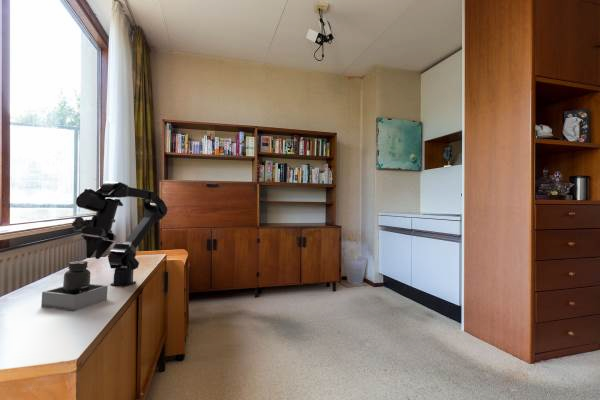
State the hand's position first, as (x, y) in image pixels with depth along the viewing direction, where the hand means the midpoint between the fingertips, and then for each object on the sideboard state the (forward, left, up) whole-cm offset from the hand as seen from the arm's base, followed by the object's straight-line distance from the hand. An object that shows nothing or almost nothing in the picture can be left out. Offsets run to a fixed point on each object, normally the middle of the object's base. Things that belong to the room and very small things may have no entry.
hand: (92, 258), depth 104 cm
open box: (+9, +4, -12) cm, 16 cm away
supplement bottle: (+9, +4, -12) cm, 15 cm away
